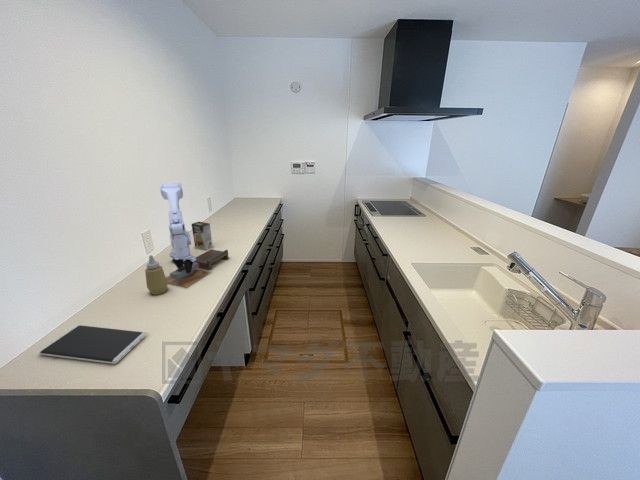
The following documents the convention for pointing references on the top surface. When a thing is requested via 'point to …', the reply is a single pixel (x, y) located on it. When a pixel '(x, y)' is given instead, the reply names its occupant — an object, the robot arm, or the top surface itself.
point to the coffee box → (202, 235)
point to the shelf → (210, 258)
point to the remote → (182, 271)
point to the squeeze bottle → (155, 277)
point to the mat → (188, 278)
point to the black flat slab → (94, 344)
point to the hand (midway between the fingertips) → (185, 271)
